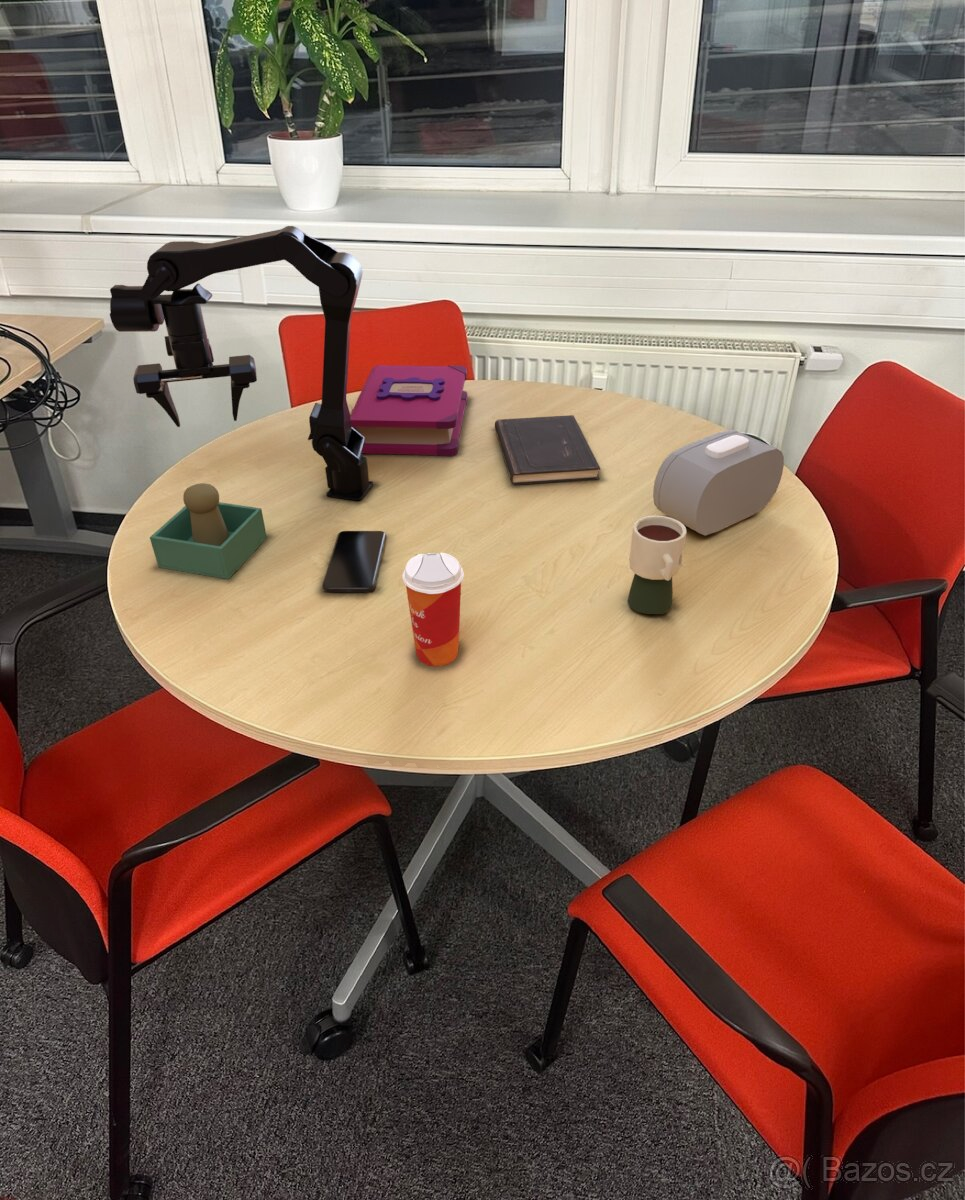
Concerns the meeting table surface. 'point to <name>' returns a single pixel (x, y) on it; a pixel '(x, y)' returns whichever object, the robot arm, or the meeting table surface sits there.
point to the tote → (205, 559)
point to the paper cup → (434, 606)
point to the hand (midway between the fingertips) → (207, 423)
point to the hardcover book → (545, 450)
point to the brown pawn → (205, 514)
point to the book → (411, 410)
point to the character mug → (655, 562)
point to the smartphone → (355, 561)
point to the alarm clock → (717, 481)
